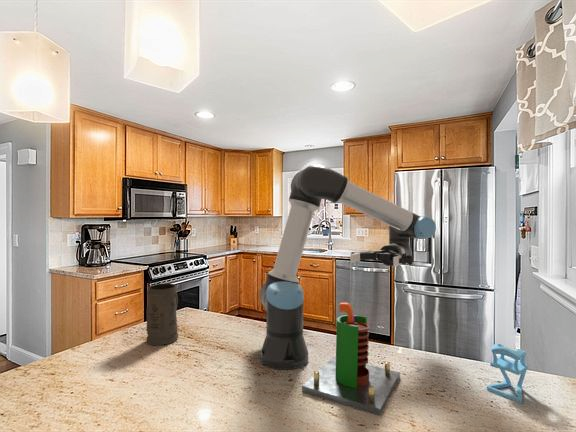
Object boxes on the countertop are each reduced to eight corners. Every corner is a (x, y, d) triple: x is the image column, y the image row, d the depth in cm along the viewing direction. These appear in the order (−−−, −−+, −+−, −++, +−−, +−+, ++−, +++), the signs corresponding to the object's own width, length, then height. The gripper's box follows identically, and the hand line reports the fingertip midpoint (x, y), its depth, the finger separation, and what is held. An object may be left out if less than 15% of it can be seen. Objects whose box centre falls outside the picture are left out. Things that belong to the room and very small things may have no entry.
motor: (369, 390, 82) (370, 310, 82) (334, 385, 84) (334, 307, 84) (368, 371, 92) (369, 300, 92) (336, 368, 94) (337, 298, 94)
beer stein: (171, 346, 112) (172, 288, 113) (140, 346, 113) (141, 288, 113) (185, 331, 128) (186, 280, 128) (158, 331, 128) (159, 280, 128)
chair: (532, 392, 84) (532, 346, 84) (520, 403, 79) (520, 353, 79) (498, 380, 90) (498, 337, 91) (486, 389, 85) (486, 343, 86)
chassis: (301, 391, 84) (302, 374, 84) (333, 361, 102) (333, 347, 102) (380, 415, 73) (380, 395, 74) (399, 377, 92) (399, 361, 92)
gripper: (428, 267, 111) (414, 276, 93) (359, 262, 125) (335, 268, 107) (428, 245, 111) (414, 250, 94) (359, 242, 125) (335, 246, 107)
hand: (372, 260), depth 100 cm, fingers open, 13 cm apart
